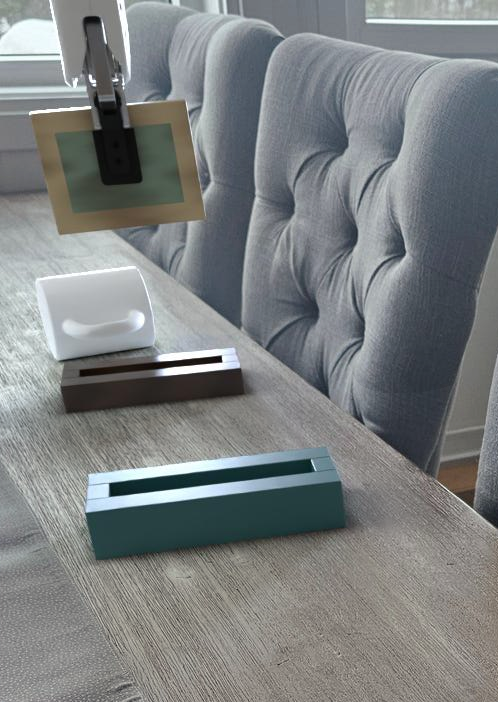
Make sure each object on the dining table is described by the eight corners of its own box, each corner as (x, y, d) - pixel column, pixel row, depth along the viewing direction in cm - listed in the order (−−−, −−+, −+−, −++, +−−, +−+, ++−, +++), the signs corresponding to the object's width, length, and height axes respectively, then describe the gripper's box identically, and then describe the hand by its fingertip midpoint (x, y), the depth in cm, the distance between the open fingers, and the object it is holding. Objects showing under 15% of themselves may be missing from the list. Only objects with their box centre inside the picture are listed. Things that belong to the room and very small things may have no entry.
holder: (95, 560, 75) (84, 512, 74) (98, 519, 81) (87, 473, 79) (346, 527, 79) (341, 480, 77) (331, 489, 85) (326, 445, 83)
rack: (66, 413, 101) (59, 386, 100) (69, 390, 107) (63, 364, 105) (245, 394, 104) (241, 367, 103) (239, 372, 110) (235, 347, 109)
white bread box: (48, 350, 119) (30, 271, 114) (143, 335, 122) (128, 259, 118) (68, 380, 109) (49, 296, 105) (170, 363, 113) (155, 282, 109)
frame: (58, 235, 92) (29, 113, 87) (59, 232, 93) (30, 111, 88) (206, 219, 94) (186, 100, 89) (205, 216, 95) (184, 98, 91)
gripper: (25, -85, 87) (76, 171, 97) (12, -95, 75) (73, 201, 85) (124, -87, 89) (165, 165, 99) (128, -98, 76) (174, 193, 86)
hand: (122, 180), depth 92 cm, fingers closed on frame, 1 cm apart
